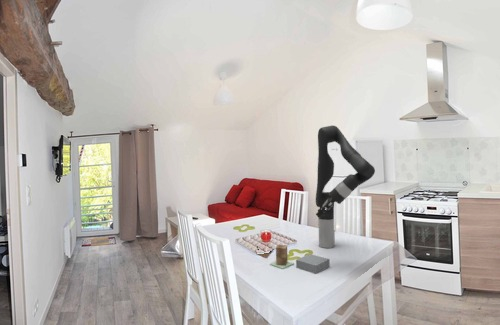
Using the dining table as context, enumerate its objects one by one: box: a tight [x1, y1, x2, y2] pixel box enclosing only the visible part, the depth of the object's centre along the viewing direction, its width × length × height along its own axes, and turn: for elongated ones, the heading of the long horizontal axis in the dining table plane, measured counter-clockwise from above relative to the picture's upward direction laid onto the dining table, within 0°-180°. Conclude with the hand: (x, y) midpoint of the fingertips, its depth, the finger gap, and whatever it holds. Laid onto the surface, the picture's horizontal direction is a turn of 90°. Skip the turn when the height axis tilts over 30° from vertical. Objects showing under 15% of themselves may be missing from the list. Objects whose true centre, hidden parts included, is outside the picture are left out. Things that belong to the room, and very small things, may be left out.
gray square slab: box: [295, 253, 331, 275], centre depth 165 cm, size 12×12×4 cm
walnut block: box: [275, 244, 289, 266], centre depth 170 cm, size 5×5×9 cm
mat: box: [269, 260, 295, 270], centre depth 170 cm, size 9×9×1 cm
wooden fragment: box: [256, 251, 273, 259], centre depth 193 cm, size 26×11×1 cm, turn 176°
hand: (318, 214), depth 167 cm, fingers open, 8 cm apart
